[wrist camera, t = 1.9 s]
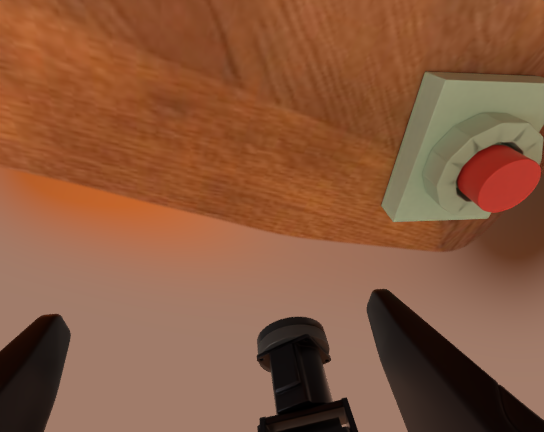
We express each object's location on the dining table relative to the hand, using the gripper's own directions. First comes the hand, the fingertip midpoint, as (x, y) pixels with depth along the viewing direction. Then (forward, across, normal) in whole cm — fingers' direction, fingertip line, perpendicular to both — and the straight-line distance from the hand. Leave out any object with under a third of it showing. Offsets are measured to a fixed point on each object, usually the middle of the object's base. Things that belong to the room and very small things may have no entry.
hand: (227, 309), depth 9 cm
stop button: (+10, -16, +1) cm, 19 cm away
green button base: (+13, -16, +1) cm, 21 cm away
